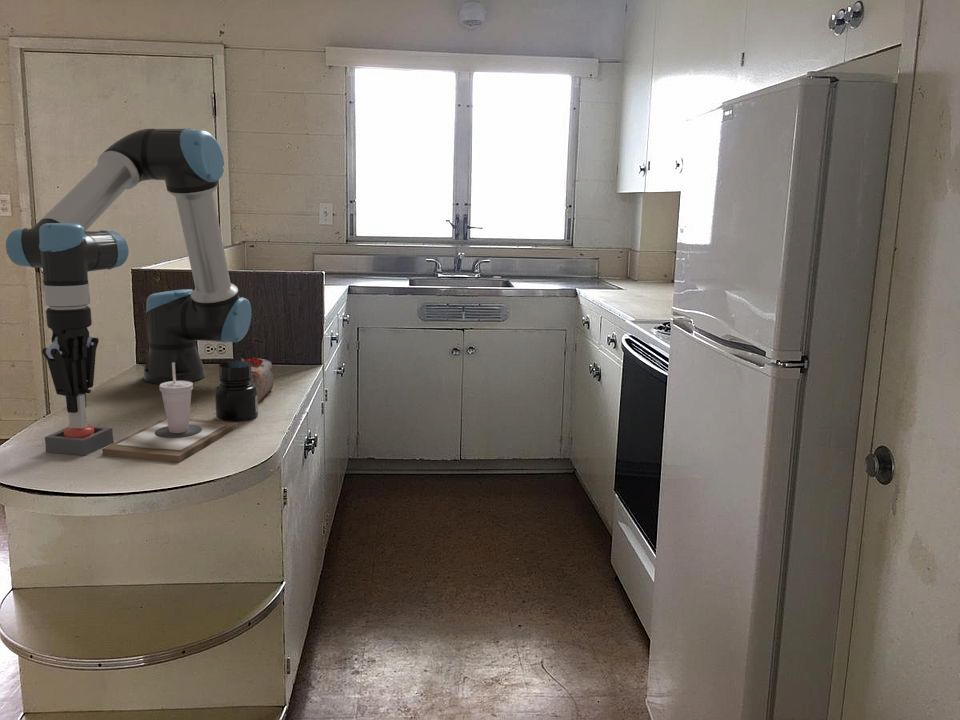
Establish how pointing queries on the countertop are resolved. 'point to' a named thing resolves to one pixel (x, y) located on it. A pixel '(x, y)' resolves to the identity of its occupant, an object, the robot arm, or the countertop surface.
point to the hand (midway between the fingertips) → (78, 427)
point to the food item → (261, 375)
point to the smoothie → (177, 403)
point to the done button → (79, 432)
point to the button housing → (79, 442)
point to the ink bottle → (236, 392)
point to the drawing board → (169, 440)
